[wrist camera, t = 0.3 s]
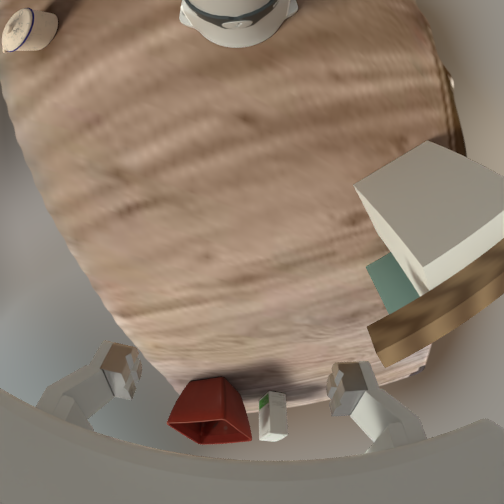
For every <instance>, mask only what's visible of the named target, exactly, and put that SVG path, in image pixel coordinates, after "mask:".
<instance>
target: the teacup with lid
mask: <svg viewBox="0 0 504 504" xmlns="http://www.w3.org/2000/svg"><path fill="white" fill-rule="evenodd" d="M57 27H58V19H57V16H56V15H55V14H53V13H48V12H43V11H37V10H32V9H30V8H24V9H21V10H19V11H18V12H16V13H15V14H14V15H13V16H12V17H11V18H10V20H9V21H8V23H7V24H6V26H5V29H4V31H3V35H2V46H3V48H2V50H3V53H10V52H13V51H17V50H41V49H43V48H44V47H46V46H47V45H48V44H49V43H50V42H51V40H52V39H53V37H54V36H55V33H56V31H57Z"/></svg>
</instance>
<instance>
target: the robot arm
mask: <svg viewBox="0 0 504 504" xmlns="http://www.w3.org/2000/svg"><path fill="white" fill-rule="evenodd" d="M290 1H291V3H290ZM297 10H298V4H297V2H296V0H182V4H181V10H180V17H179V19H180V22H181V23H182V24H183V25H186V26H188V27H191V28H194V29H196V30H198V31H199V32H200V33H201V34H202V35H203V36H204V37H205V38H207V39H208V40H210V41H211V42H213V43H216V44H218V45H221V46H225V47H233V48H240V47H248V46H252V45H256V44H258V43H261V42H263V41H265V40H266V39H268V38H269V37H271V36H272V35H273V34H274V33H275V32H276V31H277V30H278V28H279V27H280V25H281V24H282V22H283V21H284V20H285V19H286V18H288V17H290V16H292V15H293V14H295V13H296V12H297ZM138 354H139V353H138V349H137V348H136V347H133V346H128V345H123V344H119V343H114V342H110V341H106V340H105V341H103V342H102V343H101V345H100V347H99V348H98V350H97V352H96V354H95V355H94V357H93V359H92V361H91V362H90V364H89V366H87V365H85V366H84V367H82V368H80V369H78V370H77V371H75V372H73V373H71V374H70V375H68V376H66V377H64V378H63V379H61V380H59V381H57V382H55V383H53V384H52V385H50V386H48V387H47V388H46V390H45V391H44V393H43V395H42V397H41V398H40V400H39V402H38V404H37V405H36V407H34V406H32V405H30V404H28V403H26V402H24V401H22V400H20V399H18V398H16V397H15V396H13V395H11V394H9V393H8V392H6V391H4V390H2V389H1V388H0V504H504V429H503V428H502V427H501V426H499V425H498V424H496V423H495V422H493V421H491V420H489V419H481V420H479V421H476V422H474V423H471V424H469V425H467V426H464V427H461V428H459V429H456V430H453V431H450V432H448V433H445V434H442V435H439V436H436V437H432V438H429V439H427V437H426V434H425V432H424V429H423V426H422V424H421V421H420V419H419V417H418V416H417V415H416V414H414V413H413V412H412V411H410V410H409V409H408V408H407V407H405V406H404V405H403V404H401V403H400V402H399V401H398V400H396V399H395V398H394V397H392V396H391V395H390V394H389V393H387V392H386V391H385V390H384V389H380V388H379V386H378V383H377V380H376V378H375V375H374V372H373V370H372V367H371V365H370V363H369V362H368V361H361V362H338V363H334V364H333V367H332V372H333V373H332V374H330V375H329V377H328V379H327V385H326V390H327V396H328V397H329V398H330V399H331V401H330V403H329V406H330V410H331V414H332V416H345V415H350V417H351V418H352V419H353V420H354V421H355V422H356V423H357V424H358V426H359V427H360V428H361V429H362V430H363V431H364V432H365V433H366V434H367V435H368V437H369V438H370V439H371V440H372V441H373V442H374V443H373V444H372V445H371V446H370V447H369V448H368V450H367V451H366V452H365V454H360V455H353V456H345V457H338V458H337V457H336V458H327V459H316V460H299V461H250V460H232V459H221V458H210V457H202V456H194V455H188V454H181V453H176V452H170V451H165V450H160V449H155V448H150V447H146V446H142V445H138V444H134V443H130V442H126V441H123V440H119V439H116V438H113V437H109V436H106V435H103V434H100V433H97V432H94V429H93V427H92V426H91V424H90V423H89V422H88V420H87V419H89V418H90V417H91V416H92V415H93V414H95V413H96V412H97V411H98V410H99V409H101V408H102V407H103V406H104V405H105V404H107V403H108V402H109V401H110V400H112V399H113V398H114V396H115V397H119V398H124V399H128V400H132V399H133V396H134V393H135V391H136V386H135V383H137V382H138V381H139V380H140V377H141V373H142V364H141V360H139V358H138V357H137V356H138Z"/></svg>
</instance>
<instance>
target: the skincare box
mask: <svg viewBox="0 0 504 504" xmlns="http://www.w3.org/2000/svg"><path fill="white" fill-rule="evenodd" d="M286 411H287V410H286V394H284V393H278V392H273V391H268V392H267V393H266V394H265V395H264V396H263V397H262V398H261V399H260V400H259V440H263V441H274V442H276V441H278V440H280V439H283V438H284V437H285V436H287V435H288V425H287V412H286Z"/></svg>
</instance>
